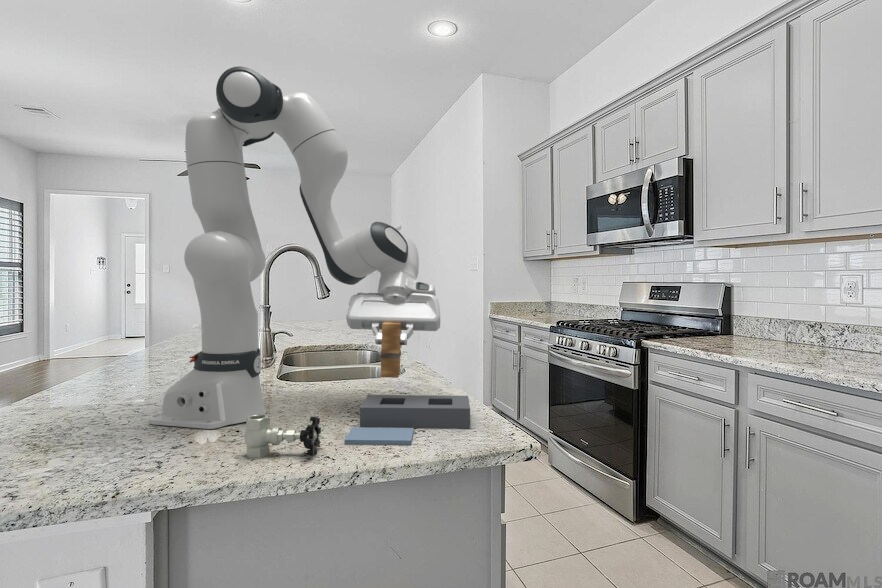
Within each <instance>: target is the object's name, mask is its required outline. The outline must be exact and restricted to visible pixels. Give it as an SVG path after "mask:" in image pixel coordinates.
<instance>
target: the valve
mask: <svg viewBox="0 0 882 588" xmlns="http://www.w3.org/2000/svg"><path fill="white" fill-rule="evenodd" d="M320 419H321V418H320V417H317V416H310V417H309V422H311V424H307V426H306V427H305V429H301V430H300V432H297V430H293V429H290V430H287V429H286V430H287V431H285V430H283V429H282V427H281V426H274V427H272V428H270V417H269V415H268V414H267V413H266V414H254V415H250V416H248V417H246V423H245V424H246V425H245V426H246V430H245V432H244V436H243V437H244V443H245V444H246V456H247V458H248V459H262V458H265V457H267V456H269V455H270V444H271V445H272V446H279V445H281V443H282V442H283V443H284V441H286V442H287V443H288V442H296V440H299V441H300V443H303V446H304V448H305V449H307V450H306V455H307V456H317V454H318V447H320V446H321V441H320V438H319V437H320V434H321V432H322V427H319V426H320V423H321V420H320Z"/></svg>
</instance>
